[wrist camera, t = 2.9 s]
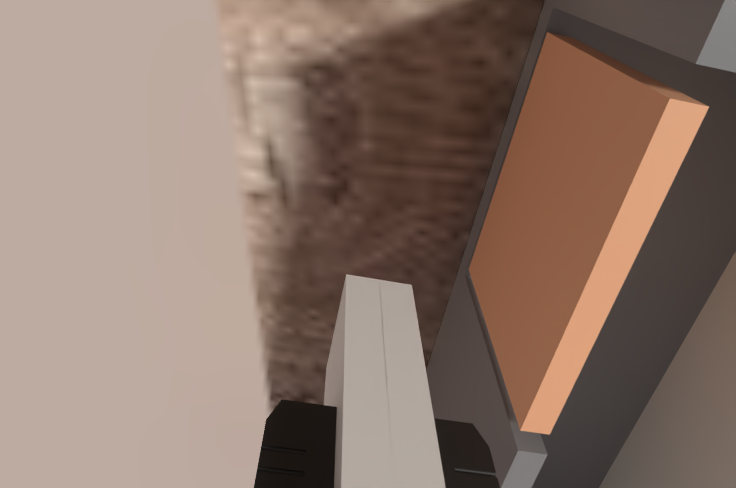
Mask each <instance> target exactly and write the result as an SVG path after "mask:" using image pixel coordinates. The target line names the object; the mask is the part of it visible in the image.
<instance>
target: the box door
mask: <svg viewBox="0 0 736 488" xmlns="http://www.w3.org/2000/svg"><path fill="white" fill-rule="evenodd" d="M708 109H709V106H707V105H705V104H703V103H701V102H699V101H697V100H695V99H693V98H691V97H689V96H687V95H685V94H683V93H681V92H679V91H677V90H675V89H673V88H671V87H669V86H667V85H665V84H663V83H661V82H659V81H657V80H655V79H653V78H651V77H649V76H647V75H645V74H643V73H641V72H639V71H637V70H635V69H633V68H631V67H629V66H627V65H625V64H624V63H622V62H620V61H618V60H616V59H614V58H612V57H610V56H608V55H606V54H604V53H602V52H600V51H598V50H596V49H594V48H592V47H590V46H588V45H586V44H584V43H582V42H580V41H578V40H576V39H574V38H572V37H568V36H563V35H558V34H554V33H549V32H547V34H546V37H545V40H544V43H543V46H542V49H541V52H540V55H539V58H538V61H537V64H536V67H535V70H534V73H533V76H532V79H531V82H530V85H529V88H528V91H527V94H526V97H525V100H524V103H523V107H522V110H521V113H520V116H519V119H518V122H517V125H516V128H515V131H514V134H513V137H512V140H511V143H510V146H509V149H508V152H507V155H506V158H505V161H504V164H503V167H502V170H501V173H500V176H499V179H498V182H497V185H496V188H495V191H494V194H493V197H492V200H491V203H490V206H489V209H488V212H487V215H486V218H485V221H484V224H483V227H482V230H481V233H480V236H479V239H478V242H477V245H476V249H475V252H474V255H473V258H472V261H471V264H470V267H469V272H470V276H471V279H472V282H473V285H474V288H475V291H476V294H477V297H478V300H479V304H480V307H481V310H482V313H483V316H484V319H485V322H486V325H487V329H488V332H489V335H490V338H491V341H492V344H493V347H494V350H495V353H496V357H497V360H498V363H499V366H500V369H501V372H502V375H503V378H504V381H505V385H506V388H507V391H508V394H509V397H510V400H511V403H512V406H513V410H514V413H515V416H516V419H517V422H518V425H519V428H520V431H527V432H534V433H541V434H548V435H550V433H551V431H552V429H553V427H554V425H555V423H556V421H557V419H558V417H559V415H560V413H561V411H562V409H563V406H564V404H565V402H566V400H567V398H568V396H569V394H570V392H571V390H572V388H573V386H574V384H575V382H576V380H577V378H578V376H579V374H580V372H581V369H582V367H583V365H584V363H585V361H586V359H587V357H588V355H589V353H590V351H591V349H592V347H593V345H594V343H595V341H596V339H597V337H598V335H599V332H600V330H601V328H602V326H603V324H604V322H605V320H606V318H607V316H608V314H609V312H610V310H611V308H612V306H613V304H614V302H615V300H616V298H617V295H618V293H619V291H620V289H621V287H622V285H623V283H624V281H625V279H626V277H627V275H628V273H629V271H630V269H631V267H632V265H633V263H634V261H635V259H636V256H637V254H638V252H639V250H640V248H641V246H642V244H643V242H644V240H645V238H646V236H647V234H648V232H649V230H650V228H651V226H652V224H653V222H654V219H655V217H656V215H657V213H658V211H659V209H660V207H661V205H662V203H663V201H664V199H665V197H666V195H667V193H668V191H669V189H670V187H671V185H672V182H673V180H674V178H675V176H676V174H677V172H678V170H679V168H680V166H681V164H682V162H683V160H684V158H685V156H686V154H687V152H688V150H689V148H690V145H691V143H692V141H693V139H694V137H695V135H696V133H697V131H698V129H699V127H700V125H701V123H702V121H703V119H704V117H705V115H706V113H707V111H708Z"/></svg>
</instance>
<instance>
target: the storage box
mask: <svg viewBox="0 0 736 488" xmlns="http://www.w3.org/2000/svg"><path fill="white" fill-rule="evenodd" d="M547 32H549V33H554V34H558V35H563V36H568V37H572V38H574V39H576V40H578V41H580V42H582V43H584V44H586V45H588V46H590V47H592V48H594V49H596V50H598V51H600V52H602V53H604V54H606V55H608V56H610V57H612V58H614V59H616V60H618V61H620V62H622V63H624V64H625V65H627V66H629V67H631V68H633V69H635V70H637V71H639V72H641V73H643V74H645V75H647V76H649V77H651V78H653V79H655V80H657V81H659V82H661V83H663V84H665V85H667V86H669V87H671V88H673V89H675V90H677V91H679V92H681V93H683V94H685V95H687V96H689V97H691V98H693V99H695V100H697V101H699V102H701V103H703V104H705V105H707V106H709V109H708V111H707V113H706V115H705V117H704V119H703V121H702V123H701V125H700V127H699V129H698V131H697V133H696V135H695V137H694V139H693V141H692V143H691V145H690V148H689V150H688V152H687V154H686V156H685V158H684V160H683V162H682V164H681V166H680V168H679V170H678V172H677V174H676V176H675V178H674V180H673V182H672V185H671V187H670V189H669V191H668V193H667V195H666V197H665V199H664V201H663V203H662V205H661V207H660V209H659V211H658V213H657V215H656V217H655V219H654V222H653V224H652V226H651V228H650V230H649V232H648V234H647V236H646V238H645V240H644V242H643V244H642V246H641V248H640V250H639V252H638V254H637V256H636V259H635V261H634V263H633V265H632V267H631V269H630V271H629V273H628V275H627V277H626V279H625V281H624V283H623V285H622V287H621V289H620V291H619V293H618V295H617V298H616V300H615V302H614V304H613V306H612V308H611V310H610V312H609V314H608V316H607V318H606V320H605V322H604V324H603V326H602V328H601V330H600V332H599V335H598V337H597V339H596V341H595V343H594V345H593V347H592V349H591V351H590V353H589V355H588V357H587V359H586V361H585V363H584V365H583V367H582V369H581V372H580V374H579V376H578V378H577V380H576V382H575V384H574V386H573V388H572V390H571V392H570V394H569V396H568V398H567V400H566V402H565V404H564V406H563V409H562V411H561V413H560V415H559V417H558V419H557V421H556V423H555V425H554V427H553V429H552V431H551V433H550V435H548V434H541V433H534V432H527V431H520V428H519V425H518V422H517V419H516V416H515V413H514V410H513V406H512V403H511V400H510V397H509V394H508V391H507V388H506V385H505V381H504V378H503V375H502V372H501V369H500V366H499V363H498V360H497V357H496V353H495V350H494V347H493V344H492V341H491V338H490V335H489V332H488V329H487V325H486V322H485V319H484V316H483V313H482V310H481V307H480V304H479V300H478V297H477V294H476V291H475V288H474V285H473V282H472V279H471V276H470V272H469V267H470V264H471V261H472V258H473V255H474V252H475V249H476V245H477V242H478V239H479V236H480V233H481V230H482V227H483V224H484V221H485V218H486V215H487V212H488V209H489V206H490V203H491V200H492V197H493V194H494V191H495V188H496V185H497V182H498V179H499V176H500V173H501V170H502V167H503V164H504V161H505V158H506V155H507V152H508V149H509V146H510V143H511V140H512V137H513V134H514V131H515V128H516V125H517V122H518V119H519V116H520V113H521V110H522V107H523V103H524V100H525V97H526V94H527V91H528V88H529V85H530V82H531V79H532V76H533V73H534V70H535V67H536V64H537V61H538V58H539V55H540V52H541V49H542V46H543V43H544V40H545V37H546V34H547ZM426 373H427V379H428V385H429V391H430V397H431V403H432V409H433V415H434V418H436V419H443V420H451V421H458V422H465V423H473V425H474V426H475V428H476V429H477V430H478V432H479V433H480V435H481V436H482V437H483V439H484V440H485V442H486V443H487V444H488V446H489V448H490V452H491V455H492V459H493V463H494V467H495V470H496V477H497V478H498V482H499V485H500V488H736V0H545V2H544V5H543V8H542V11H541V14H540V17H539V21H538V24H537V27H536V30H535V33H534V36H533V39H532V42H531V45H530V49H529V52H528V55H527V58H526V61H525V64H524V67H523V70H522V73H521V77H520V80H519V83H518V86H517V89H516V92H515V95H514V98H513V101H512V105H511V108H510V111H509V114H508V117H507V120H506V123H505V126H504V130H503V133H502V136H501V139H500V142H499V145H498V148H497V151H496V154H495V158H494V161H493V164H492V167H491V170H490V173H489V176H488V179H487V182H486V186H485V189H484V192H483V195H482V198H481V201H480V204H479V207H478V210H477V214H476V217H475V220H474V223H473V226H472V229H471V232H470V235H469V238H468V242H467V245H466V248H465V251H464V254H463V257H462V260H461V263H460V266H459V270H458V273H457V276H456V279H455V282H454V285H453V288H452V291H451V294H450V298H449V301H448V304H447V307H446V310H445V313H444V316H443V319H442V322H441V326H440V329H439V332H438V335H437V338H436V341H435V344H434V347H433V351H432V354H431V357H430V360H429V363H428V366H427V369H426Z"/></svg>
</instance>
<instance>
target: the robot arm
mask: <svg viewBox="0 0 736 488" xmlns="http://www.w3.org/2000/svg"><path fill="white" fill-rule="evenodd" d="M254 488H500V485H499V482H498V478H497V477H496V470H495V467H494V463H493V459H492V455H491V452H490V448H489V446H488V444H487V443H486V442H485V440H484V439H483V437H482V436H481V435H480V433H479V432H478V430H477V429H476V428H475V426H474V425H473V423H465V422H458V421H451V420H443V419H436V418H434V415H433V409H432V403H431V397H430V391H429V385H428V379H427V373H426V367H425V361H424V355H423V349H422V343H421V337H420V331H419V325H418V319H417V313H416V307H415V301H414V295H413V289H412V285H410V284H403V283H397V282H391V281H385V280H378V279H372V278H366V277H360V276H354V275H347V274H346V278H345V283H344V287H343V292H342V297H341V301H340V306H339V311H338V315H337V320H336V325H335V330H334V334H333V339H332V344H331V348H330V353H329V358H328V363H327V367H326V379H325V394H324V405H319V404H312V403H304V402H297V401H289V400H281V401H280V403H279V404H278V405H277V407H276V408H275V409H274V410H273V412H272V413H271V414H270V415H269V417H268V418H267V419H266V424H265V430H264V435H263V441H262V446H261V452H260V457H259V463H258V469H257V474H256V479H255V485H254Z"/></svg>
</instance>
